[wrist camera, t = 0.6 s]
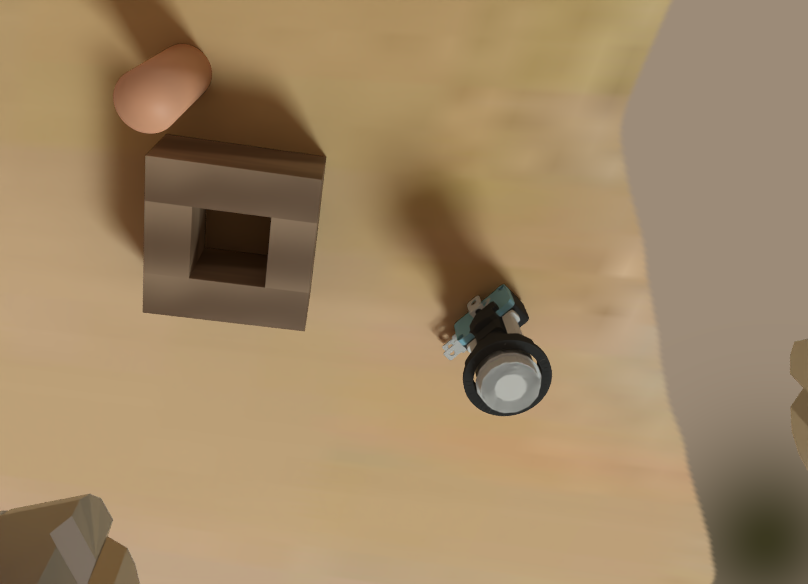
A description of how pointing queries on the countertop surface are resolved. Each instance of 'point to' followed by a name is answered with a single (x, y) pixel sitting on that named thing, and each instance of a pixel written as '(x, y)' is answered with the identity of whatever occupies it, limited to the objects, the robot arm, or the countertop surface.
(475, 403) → the push button
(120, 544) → the robot arm
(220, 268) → the socket block
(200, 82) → the dowel
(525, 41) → the countertop surface
